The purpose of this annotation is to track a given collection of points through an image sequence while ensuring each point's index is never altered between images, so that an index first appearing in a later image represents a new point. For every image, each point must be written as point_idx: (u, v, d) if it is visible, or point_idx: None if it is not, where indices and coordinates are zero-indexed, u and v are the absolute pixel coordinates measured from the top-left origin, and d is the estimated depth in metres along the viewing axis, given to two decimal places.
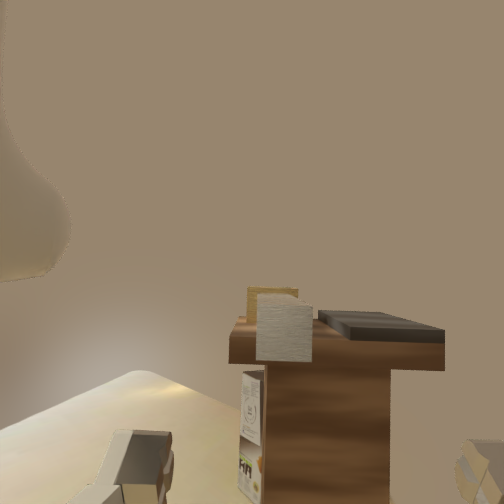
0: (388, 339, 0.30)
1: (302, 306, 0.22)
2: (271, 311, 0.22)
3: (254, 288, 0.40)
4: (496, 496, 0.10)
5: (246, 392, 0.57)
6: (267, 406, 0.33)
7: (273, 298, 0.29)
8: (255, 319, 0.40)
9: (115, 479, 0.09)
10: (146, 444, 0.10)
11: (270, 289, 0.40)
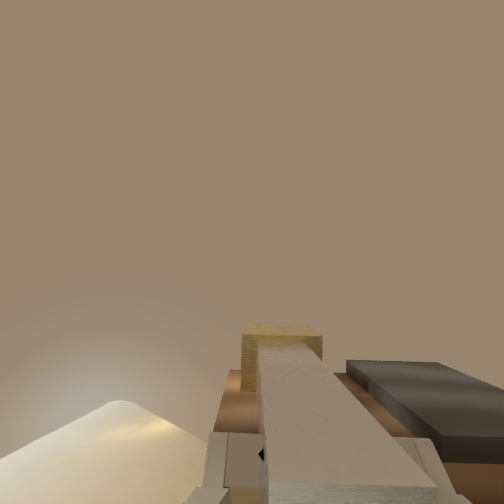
0: None
1: (406, 488, 0.07)
2: None
3: (252, 336, 0.25)
4: None
5: None
6: None
7: (294, 387, 0.14)
8: (254, 386, 0.25)
9: (222, 482, 0.09)
10: (244, 447, 0.10)
11: (278, 337, 0.25)
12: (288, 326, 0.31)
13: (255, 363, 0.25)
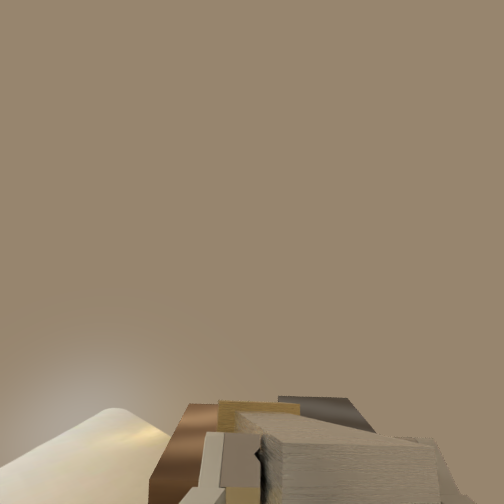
0: None
1: (406, 448, 0.08)
2: (324, 466, 0.08)
3: (230, 403, 0.25)
4: None
5: None
6: None
7: (283, 422, 0.14)
8: None
9: (218, 482, 0.09)
10: (240, 447, 0.10)
11: (256, 405, 0.25)
12: None
13: None
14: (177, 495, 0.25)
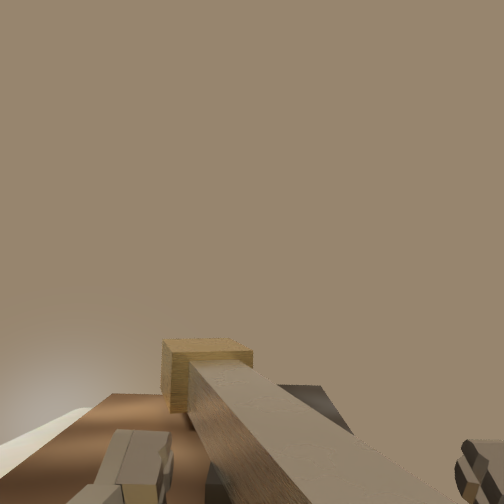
0: None
1: None
2: None
3: (183, 354, 0.24)
4: (496, 496, 0.10)
5: None
6: None
7: (272, 417, 0.14)
8: (185, 406, 0.24)
9: (115, 479, 0.09)
10: (146, 444, 0.10)
11: (210, 354, 0.24)
12: (209, 338, 0.30)
13: (186, 382, 0.24)
14: None
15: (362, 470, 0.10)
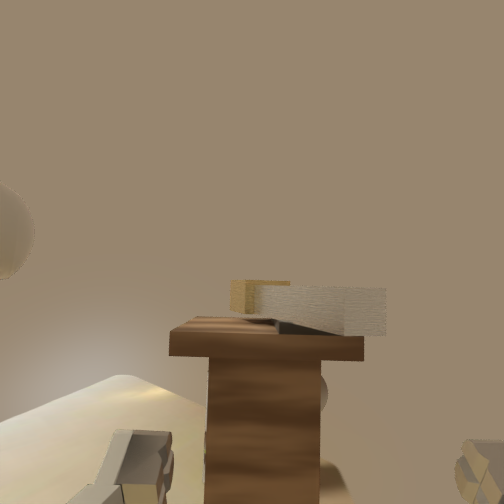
0: (313, 333, 0.33)
1: (378, 288, 0.26)
2: (355, 293, 0.25)
3: (251, 281, 0.42)
4: (496, 496, 0.10)
5: None
6: (208, 396, 0.36)
7: None
8: (252, 310, 0.42)
9: (115, 479, 0.09)
10: (146, 444, 0.10)
11: (266, 282, 0.43)
12: None
13: (253, 297, 0.42)
14: (191, 342, 0.33)
15: None
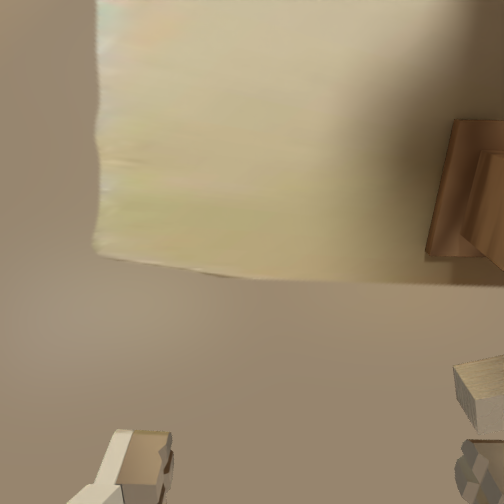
0: None
1: (478, 428, 0.25)
2: (473, 404, 0.24)
3: None
4: (496, 496, 0.10)
5: None
6: None
7: None
8: None
9: (115, 479, 0.09)
10: (146, 444, 0.10)
11: None
12: None
13: None
14: None
15: None
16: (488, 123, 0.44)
